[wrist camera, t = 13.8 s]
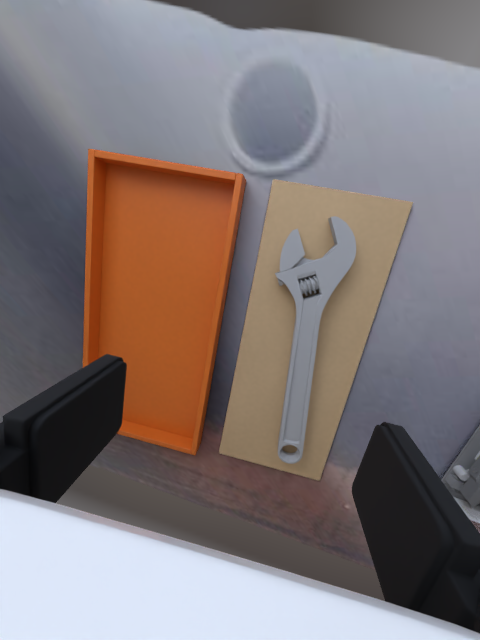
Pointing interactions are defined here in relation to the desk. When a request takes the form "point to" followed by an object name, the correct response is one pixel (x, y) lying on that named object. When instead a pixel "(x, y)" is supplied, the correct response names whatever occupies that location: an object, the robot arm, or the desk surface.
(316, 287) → the adjustable wrench
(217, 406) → the desk surface
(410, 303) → the desk surface
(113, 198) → the tool tray
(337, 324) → the desk mat
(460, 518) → the robot arm
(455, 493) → the graphics card
